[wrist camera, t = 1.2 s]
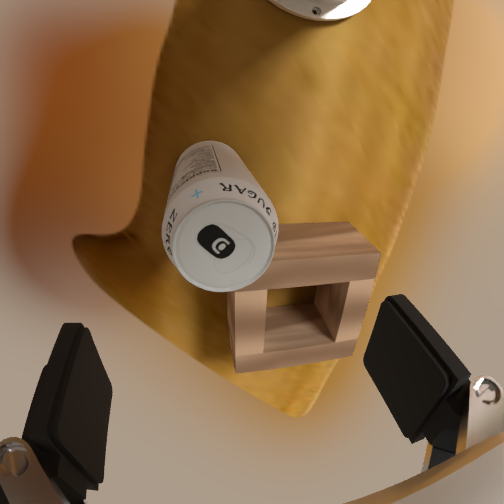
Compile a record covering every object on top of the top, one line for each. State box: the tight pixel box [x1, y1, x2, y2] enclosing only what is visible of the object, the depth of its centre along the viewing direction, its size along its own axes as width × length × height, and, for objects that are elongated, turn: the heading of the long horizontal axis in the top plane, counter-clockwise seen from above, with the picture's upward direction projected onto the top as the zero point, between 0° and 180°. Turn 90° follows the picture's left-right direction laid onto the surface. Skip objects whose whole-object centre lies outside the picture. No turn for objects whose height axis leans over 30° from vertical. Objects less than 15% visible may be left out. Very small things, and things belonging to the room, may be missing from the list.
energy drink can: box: [162, 140, 279, 292], centre depth 21 cm, size 6×6×15 cm
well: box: [227, 222, 381, 373], centre depth 31 cm, size 13×13×7 cm
